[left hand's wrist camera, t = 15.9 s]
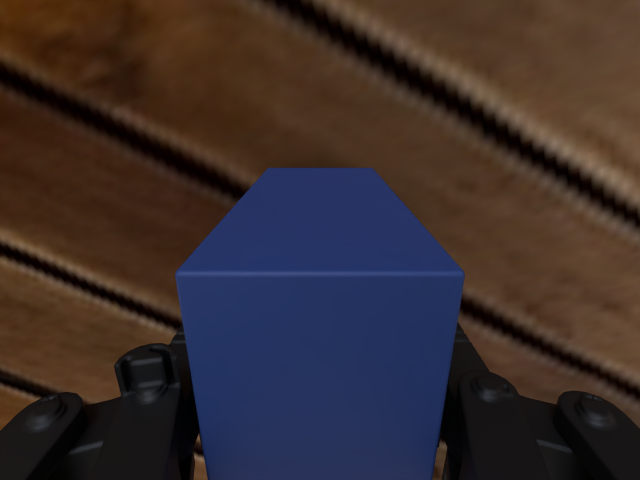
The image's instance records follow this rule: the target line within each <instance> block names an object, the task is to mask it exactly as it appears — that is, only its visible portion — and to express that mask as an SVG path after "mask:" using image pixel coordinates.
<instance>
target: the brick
mask: <svg viewBox="0 0 640 480" xmlns="http://www.w3.org/2000/svg"><path fill="white" fill-rule="evenodd" d="M175 278H176V284H177V290H178V296H179V303H180V309H181V315H182V321H183V327H184V334H185V340H186V346H187V352H188V359H189V365H190V371H191V377H192V383H193V390H194V396H195V402H196V408H197V415H198V421H199V427H200V433H201V440H202V446H203V452H204V458H205V464H206V471H207V477H208V480H432V477H433V470H434V464H435V458H436V452H437V445H438V439H439V433H440V427H441V421H442V414H443V408H444V402H445V396H446V390H447V383H448V377H449V371H450V365H451V359H452V352H453V346H454V340H455V334H456V327H457V321H458V315H459V309H460V303H461V296H462V290H463V284H464V278H465V274H464V271H463V270H462V269H461V268H460V267H459V266H458V264H457V263H456V262H455V261H454V260H453V259H452V258H451V257H450V255H449V254H448V253H447V252H446V251H445V250H444V249H443V247H442V246H441V245H440V244H439V243H438V242H437V241H436V240H435V238H434V237H433V236H432V235H431V234H430V233H429V232H428V230H427V229H426V228H425V227H424V226H423V225H422V224H421V223H420V221H419V220H418V219H417V218H416V217H415V216H414V215H413V213H412V212H411V211H410V210H409V209H408V208H407V207H406V206H405V204H404V203H403V202H402V201H401V200H400V199H399V198H398V196H397V195H396V194H395V193H394V192H393V191H392V190H391V189H390V187H389V186H388V185H387V184H386V183H385V182H384V181H383V179H382V178H381V177H380V176H379V175H378V174H377V173H376V172H375V170H374V169H373V168H268V169H267V170H266V171H265V172H264V173H263V174H262V175H261V177H260V178H259V179H258V180H257V181H256V182H255V183H254V184H253V186H252V187H251V188H250V189H249V190H248V191H247V192H246V193H245V195H244V196H243V197H242V198H241V199H240V200H239V201H238V202H237V204H236V205H235V206H234V207H233V208H232V209H231V210H230V211H229V213H228V214H227V215H226V216H225V217H224V218H223V219H222V220H221V222H220V223H219V224H218V225H217V226H216V227H215V228H214V229H213V231H212V232H211V233H210V234H209V235H208V236H207V237H206V238H205V240H204V241H203V242H202V243H201V244H200V245H199V246H198V247H197V249H196V250H195V251H194V252H193V253H192V254H191V255H190V256H189V258H188V259H187V260H186V261H185V262H184V263H183V264H182V265H181V267H180V268H179V269H178V270H177V271H176V274H175Z"/></svg>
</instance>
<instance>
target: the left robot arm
mask: <svg viewBox="0 0 640 480" xmlns="http://www.w3.org/2000/svg"><path fill="white" fill-rule="evenodd" d="M114 368H115V372H116V376H117V380H118V384H119V388H120V392H121V396H120V397H118V398H115V399H112V400H108V401H104V402H99V403H95V404H91V405H87V406H84V404H83V401H82V398H81V397H80V396H79V395H78V394H76V393H70V392H63V393H55V394H52V395H49V396H47V397H44V398H41V399H39V400H37V401H35V402H34V403H32V404H30V405H28V406H27V407H26V408H24V409H23V410H22V411H21V412H19V413H18V414H17V415H16V416H15V417H14V418H13V419H12V420H11V421H10V422H9V423H8V424H7V425H6V426H5V427H4V428H3V429H2V430H1V431H0V480H193V478H194V468H195V459H194V453H193V447H194V445H195V442H196V439H197V437H198V434H199V435H200V441H201V447H203V446H202V440H201V433H200V427H199V421H198V415H197V408H196V402H195V396H194V390H193V383H192V377H191V371H190V365H189V359H188V352H187V346H186V340H185V334H184V327H183V324H182V325H181V327H180V328H179V330H178V331H177V334H176V335H175V336H174V338H173V339H172V341H171V344H169V345H166V344H163V343H156V344H148V345H144V346H140V347H137V348H135V349H133V350H131V351H129V352H127V353H126V354H125V355H123V356H122V357H121V358H119V360H118V361H117V362H116V364H115V365H114ZM441 431H442V434H443V437H444V439H445V442H446V445H447V453H446V458H445V464H444V470H443V475H442V480H640V428H639V427H638V426H637V425H636V424H635V423H634V422H633V421H632V420H631V419H630V418H629V417H628V416H627V415H626V414H625V413H623V412H622V411H621V410H620V409H618V408H617V407H616V406H615V405H613V404H612V403H610V402H608V401H606V400H604V399H603V398H601V397H599V396H596V395H593V394H590V393H587V392H581V391H568V392H564V393H563V394H562V395H561V396H559V398H558V402H557V405H556V404H551V403H547V402H543V401H539V400H534V399H530V398H527V397H524V396H520V395H519V394H518V392H517V390H516V389H515V387H514V386H513V385H512V384H511V383H509V382H508V381H507V380H506V379H504V378H502V377H501V376H499V375H497V374H495V373H491V372H490V371H489V370H488V368H487V367H486V365H485V364H484V362H483V361H482V359H481V357H480V356H479V354H478V353H477V351H476V350H475V348H474V347H473V345H472V343H471V342H469V339H468V337H467V336H466V334H464V331H463V329H462V328H461V326H460V325H459V323H458V322H457V327H456V334H455V340H454V346H453V352H452V359H451V365H450V371H449V377H448V383H447V390H446V396H445V402H444V408H443V414H442V421H441V427H440V433H439V439H438V445H437V447H439V442H440V436H441Z"/></svg>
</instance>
